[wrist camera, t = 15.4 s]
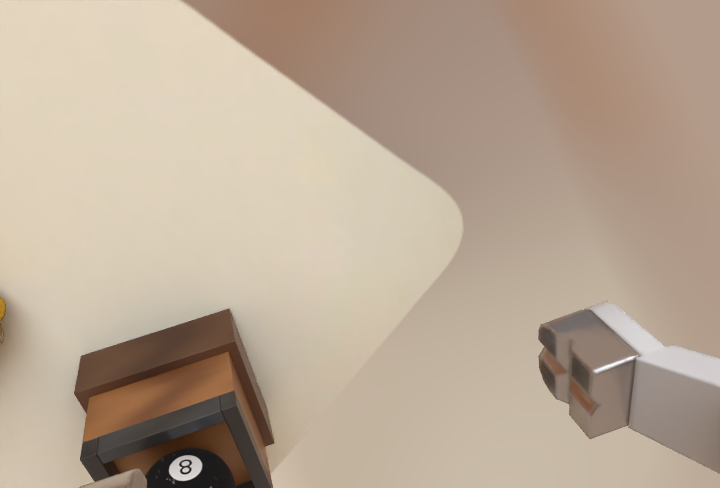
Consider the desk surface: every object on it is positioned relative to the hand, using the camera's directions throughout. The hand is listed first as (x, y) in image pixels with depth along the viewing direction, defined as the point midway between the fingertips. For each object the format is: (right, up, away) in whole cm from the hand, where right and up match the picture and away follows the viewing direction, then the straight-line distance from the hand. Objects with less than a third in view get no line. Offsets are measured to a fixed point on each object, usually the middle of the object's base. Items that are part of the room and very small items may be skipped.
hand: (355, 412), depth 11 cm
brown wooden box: (-14, -8, +34) cm, 38 cm away
